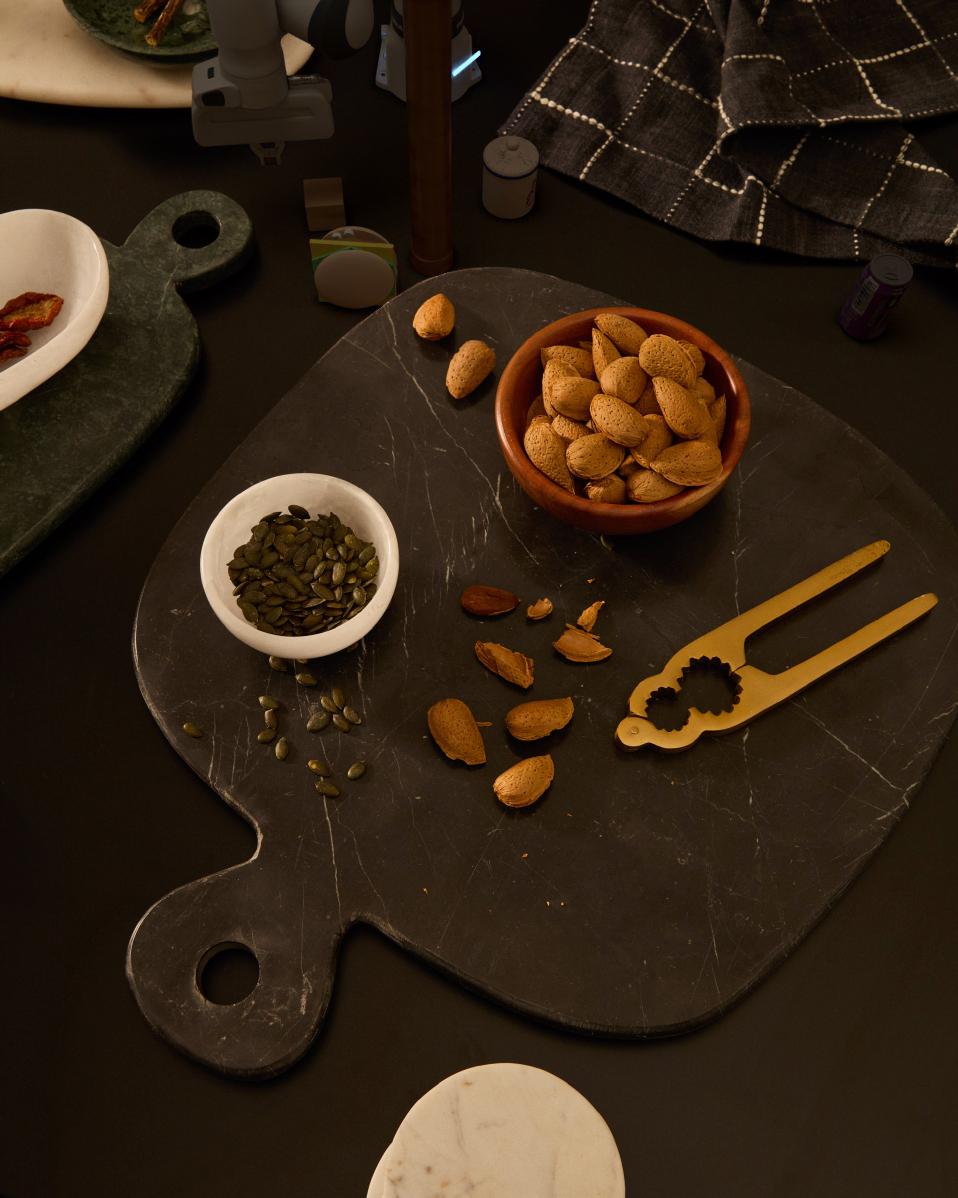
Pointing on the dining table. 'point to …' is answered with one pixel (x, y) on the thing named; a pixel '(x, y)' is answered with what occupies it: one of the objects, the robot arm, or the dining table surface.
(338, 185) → the maple block
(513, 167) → the teacup with lid
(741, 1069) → the dining table surface
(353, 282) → the hamburger
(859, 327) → the beverage can
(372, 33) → the robot arm
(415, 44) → the pepper mill
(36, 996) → the dining table surface
